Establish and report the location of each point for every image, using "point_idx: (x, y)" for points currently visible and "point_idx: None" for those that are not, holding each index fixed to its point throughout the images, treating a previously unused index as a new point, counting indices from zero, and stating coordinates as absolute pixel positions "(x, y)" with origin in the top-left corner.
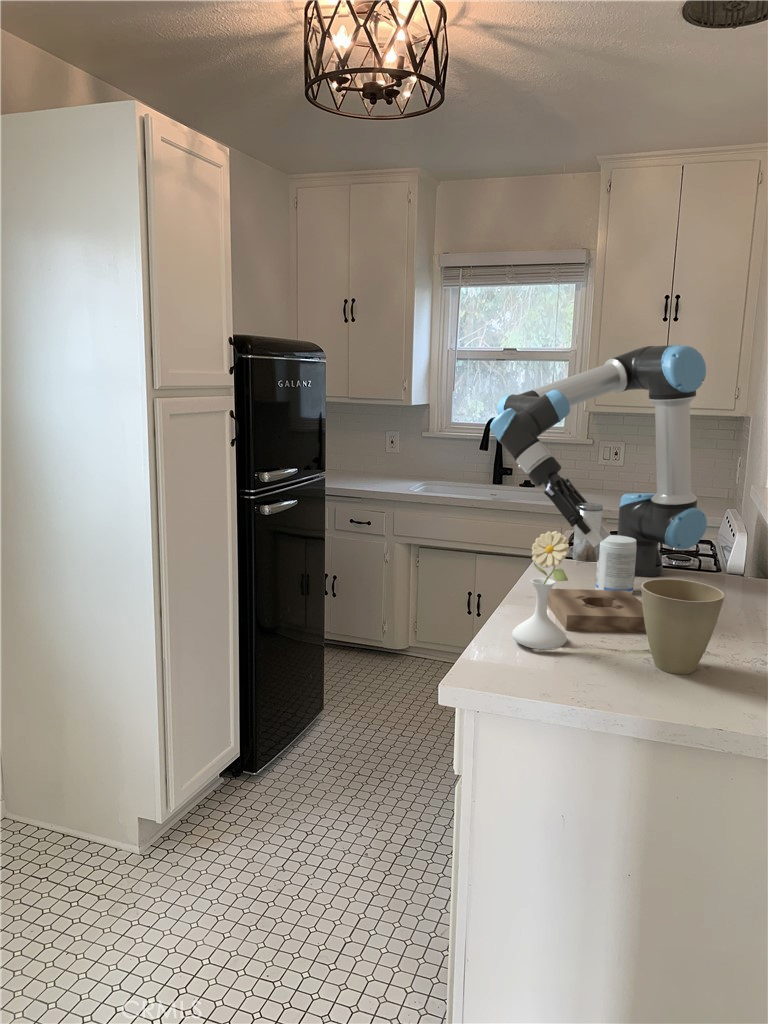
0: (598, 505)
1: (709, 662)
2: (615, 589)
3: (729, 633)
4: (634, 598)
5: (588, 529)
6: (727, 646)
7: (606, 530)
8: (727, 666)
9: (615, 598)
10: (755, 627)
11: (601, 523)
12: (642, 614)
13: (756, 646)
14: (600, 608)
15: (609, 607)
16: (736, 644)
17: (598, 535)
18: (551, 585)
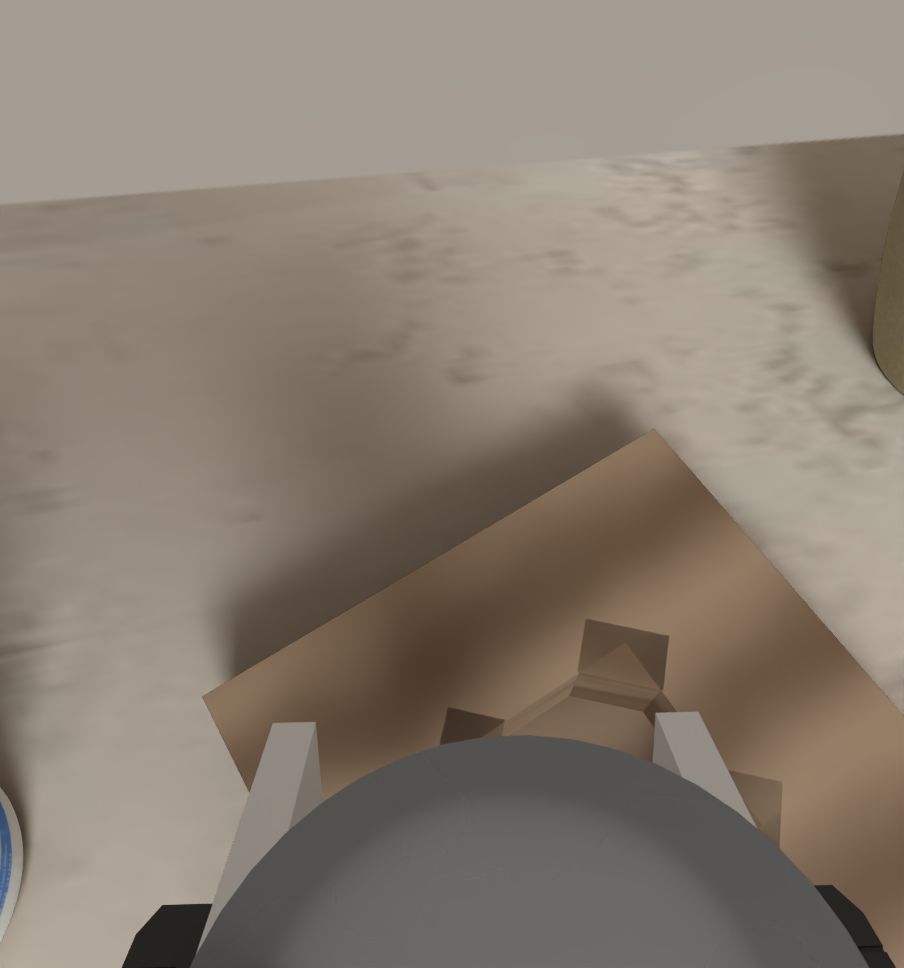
0: (457, 858)
1: (786, 270)
2: (2, 844)
3: (368, 259)
4: (367, 614)
5: (854, 912)
6: (546, 246)
7: (291, 769)
8: (777, 221)
9: (445, 717)
10: (222, 198)
11: (226, 863)
12: (665, 504)
13: (472, 175)
14: (738, 740)
15: (674, 696)
16: (497, 225)
17: (723, 766)
18: None
